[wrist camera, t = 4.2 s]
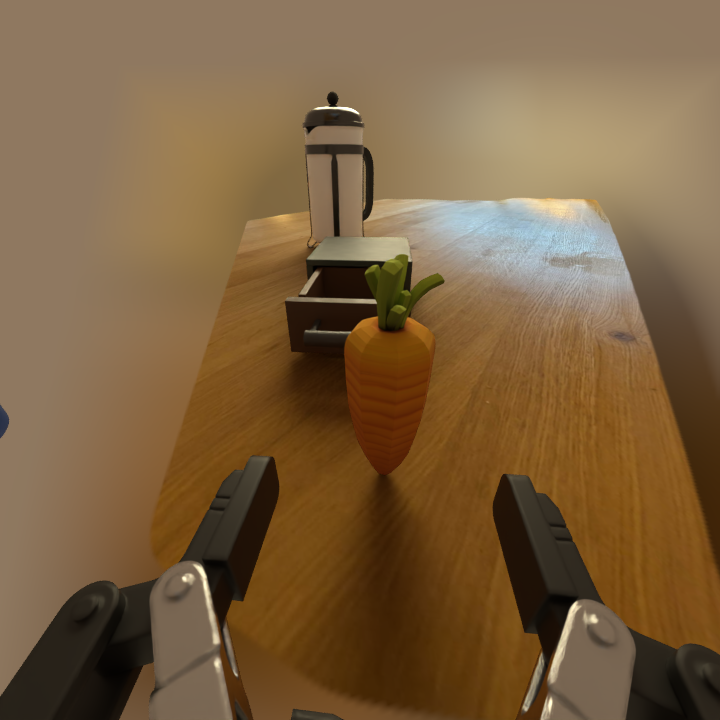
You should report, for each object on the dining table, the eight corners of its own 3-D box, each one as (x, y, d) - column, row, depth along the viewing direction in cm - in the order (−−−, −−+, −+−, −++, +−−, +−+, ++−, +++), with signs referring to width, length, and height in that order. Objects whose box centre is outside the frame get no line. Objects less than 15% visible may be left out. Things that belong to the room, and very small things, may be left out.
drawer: (408, 380, 31) (413, 324, 28) (279, 374, 32) (270, 319, 29) (403, 307, 46) (406, 265, 43) (316, 304, 47) (313, 263, 44)
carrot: (377, 436, 26) (385, 237, 18) (433, 470, 23) (469, 251, 15) (333, 475, 23) (318, 254, 15) (390, 519, 20) (410, 275, 12)
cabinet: (408, 317, 46) (412, 261, 42) (310, 314, 47) (306, 259, 43) (404, 283, 58) (408, 237, 54) (328, 281, 59) (325, 236, 55)
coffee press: (372, 254, 75) (375, 84, 59) (302, 253, 76) (287, 84, 60) (372, 238, 90) (374, 98, 74) (313, 238, 90) (304, 99, 75)
